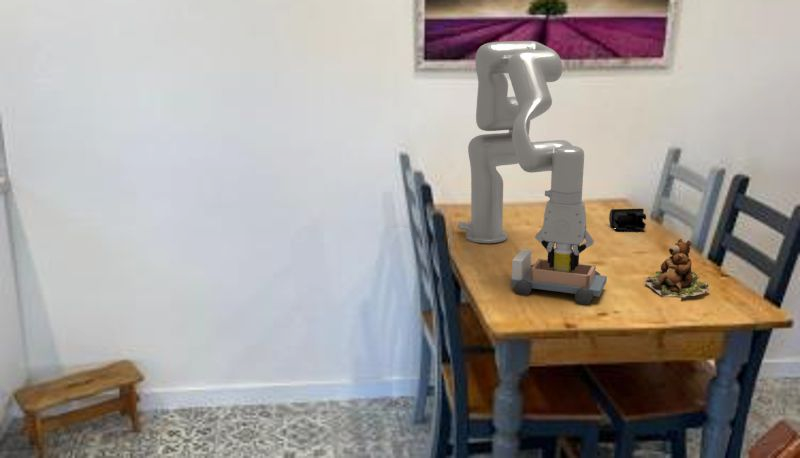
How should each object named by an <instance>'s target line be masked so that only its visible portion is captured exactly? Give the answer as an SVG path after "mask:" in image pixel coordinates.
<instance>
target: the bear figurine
mask: <svg viewBox="0 0 800 458" xmlns="http://www.w3.org/2000/svg"><path fill="white" fill-rule="evenodd" d="M691 245H692V241H690V240H687V241H686V242H684V241H683V239H682V238H679V240H677V242H676V243H675V244H674V245H671V246H670V247H669V249H668V252H669V254H670V255H671V256H668V257H667V258H666V259H665V260H664V261H663V262H662V263H661V265H660V271H658V270H656V271H655V275H653V276H648V277H647V278H646V279H645V281H644V284H646V285H647V286H648V287H649V288H650V289H651V290H654V291H655V293H657V294H659V296H661V297H662V298H663V297H664V298H665V297H666V298H667V297H670V298H671V297H680V298H683V299H684V298H687V297H694V296H698V295H702V294H705V293H706V291H710V287H709V284H708V283H707V282H706V281H705V282H704V281H701V280H699V278H700V277H701V276H700V275H699V274H697V273H696V272H695V271H692V259H691V258H690V255H689V254H690V251H691Z"/></svg>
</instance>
